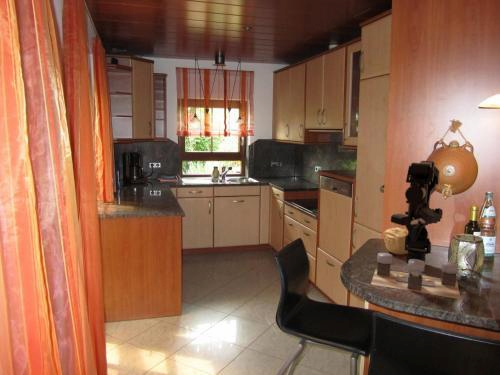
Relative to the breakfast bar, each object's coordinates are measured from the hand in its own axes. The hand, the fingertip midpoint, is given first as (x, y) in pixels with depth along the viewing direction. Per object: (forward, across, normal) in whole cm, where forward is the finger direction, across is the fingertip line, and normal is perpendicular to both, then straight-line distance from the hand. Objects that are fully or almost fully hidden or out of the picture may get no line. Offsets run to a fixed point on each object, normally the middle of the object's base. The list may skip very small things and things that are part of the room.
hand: (413, 241), depth 152 cm
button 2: (+10, +3, -13) cm, 17 cm away
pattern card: (+12, -6, -7) cm, 15 cm away
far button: (+8, -10, -11) cm, 17 cm away
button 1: (+10, -11, +3) cm, 15 cm away
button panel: (+13, -6, -8) cm, 17 cm away
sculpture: (+13, +17, +23) cm, 31 cm away
